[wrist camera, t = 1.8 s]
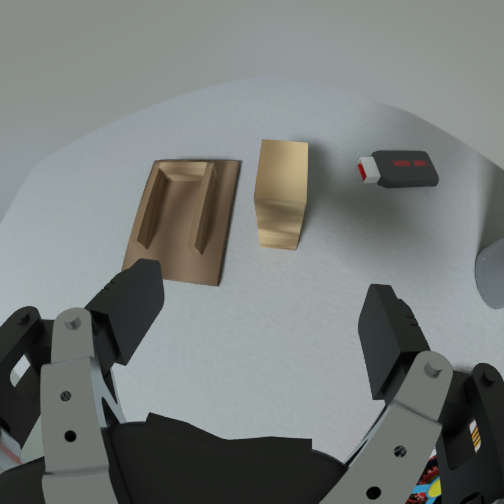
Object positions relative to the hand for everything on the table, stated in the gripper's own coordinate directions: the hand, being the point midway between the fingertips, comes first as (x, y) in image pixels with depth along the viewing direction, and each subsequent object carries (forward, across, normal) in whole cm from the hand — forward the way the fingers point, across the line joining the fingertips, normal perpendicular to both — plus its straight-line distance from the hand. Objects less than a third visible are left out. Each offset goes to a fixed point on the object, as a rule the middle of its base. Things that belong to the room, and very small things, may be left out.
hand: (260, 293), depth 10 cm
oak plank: (+22, 0, +5) cm, 22 cm away
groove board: (+22, +12, +5) cm, 25 cm away
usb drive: (+29, -16, -2) cm, 34 cm away
